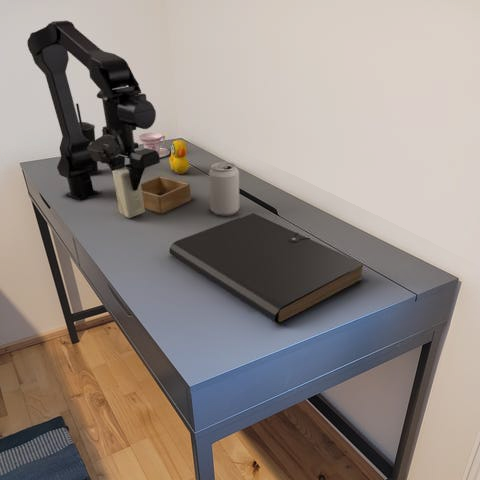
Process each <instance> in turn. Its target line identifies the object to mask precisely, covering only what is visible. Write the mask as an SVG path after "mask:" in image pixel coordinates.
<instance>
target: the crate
mask: <svg viewBox="0 0 480 480" xmlns="http://www.w3.org/2000/svg"><path fill="white" fill-rule="evenodd" d="M141 189H142V196H143V203H144V209H146V210H148V211H152V212H155V213H158V214H161V215H162V214H164V213H165V214H166V213H168V212H169V211H171V210H173V209H176V208H178V207H179V206H182V205H184V204H187V203H188V202H191V201H192V194H191V184H190V183H188V182H183V181H180V180H176V179H173V178H172V179H171V178H169V177H164V176H161V175H159V176H156V177H153V178H150V179H147V180H146V181H143V182H141ZM159 194H161V195H159Z"/></svg>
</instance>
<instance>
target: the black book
mask: <svg viewBox="0 0 480 480" xmlns="http://www.w3.org/2000/svg"><path fill="white" fill-rule="evenodd" d="M169 254H170V255H171V256H173V257H174V258H176V259H177V260H179V261H180V262H182V263H183V264H184V265H186V266H188V267H190V268H191V269H193V270H195V272H197V273H199V274H201V275H202V276H204V277H205V278H206V279H208V280H210V281H211V282H213V283H214V284H216V285H217V286H219V287H221V288H222V289H224V290H225V291H227V292H228V293H230V294H231V295H233V296H234V297H236V298H237V299H239V300H240V301H242V302H244V303H245V304H247V305H248V306H249V307H251V308H253V309H254V310H255V311H257V312H259V313H260V314H262V315H264V316H265V317H267V319H269V320H271V321H273V323H276V324H282V323H284V322H287V321H289V320H290V319H293V318H294V317H295V316H298V315H299V314H301V313H303V312H305V311H307V310H309V309H311V308H312V307H314V306H316V305H318V304H320V303H322V302H324V301H325V300H327V299H329V298H331V297H333V296H334V295H337V294H339V293H340V292H342V291H344V290H347V288H350V287H352V286H354V285H355V284H357V283H359V282H361V281H362V280H363V279H362V275H363V271H364V266H365V264H364V263H363V262H361V261H358V260H357V259H355V258H352V257H350V256H348V255H346V254H344V253H341V252H339V251H337V250H334V249H332V248H330V247H328V246H326V245H324V244H321V243H319V242H317V241H316V240H313V239H311V238H310V237H306V236H304V235H302V234H300V233H299V232H295V231H293V230H291V229H289V228H287V227H285V226H282V225H280V224H279V223H276V222H274V221H272V220H270V219H267V218H265V217H263V216H261V215H259V214H257V213H254V212H253V213H250V214H247V215H245V216H242V217H237V218H235V219H231V220H229V221H226V222H224V223H223V222H222V223H221V224H218V225H216V226H213V227H210V228H207V229H205V230H202V231H199V232H196V233H194V234H191V235H189V236H186V237H182V238H181V239H178V240H175V241H174V242H173V243H172V244H171V245H170V246H169Z"/></svg>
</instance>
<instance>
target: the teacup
mask: <svg viewBox="0 0 480 480" xmlns="http://www.w3.org/2000/svg"><path fill="white" fill-rule="evenodd" d="M137 138H138V139H139V140H140V141H141V143H142V145H143V148H141V149H144V148H148V149H152V150H156V151H157V152H158V153H159V157H160V158H164V157H167V156H169V155H170V154H171V151H170V150H169V149H168V148H166V147H163V146H164V144H165V142H166V136H165V135H164V134H163V133H160V132H145V133H141V134H139V135H137ZM162 139H163V140H162ZM161 140H162V142H161ZM160 143H161V144H160ZM141 149H139V150H141Z"/></svg>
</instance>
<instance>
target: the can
mask: <svg viewBox="0 0 480 480" xmlns="http://www.w3.org/2000/svg"><path fill="white" fill-rule="evenodd" d="M210 167H211V169H210V170H209V171H208V182H209V183H208V184H209V206H210V211H211V212H213V213H214V214H215V215H217V216H223V217H227V216H232V215H234V214H236V213H237V212H238V211H239V210H240V171H239V169H237V165H236V163H233V162H229V161H220V162H215V163H213V164H211V166H210Z"/></svg>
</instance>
